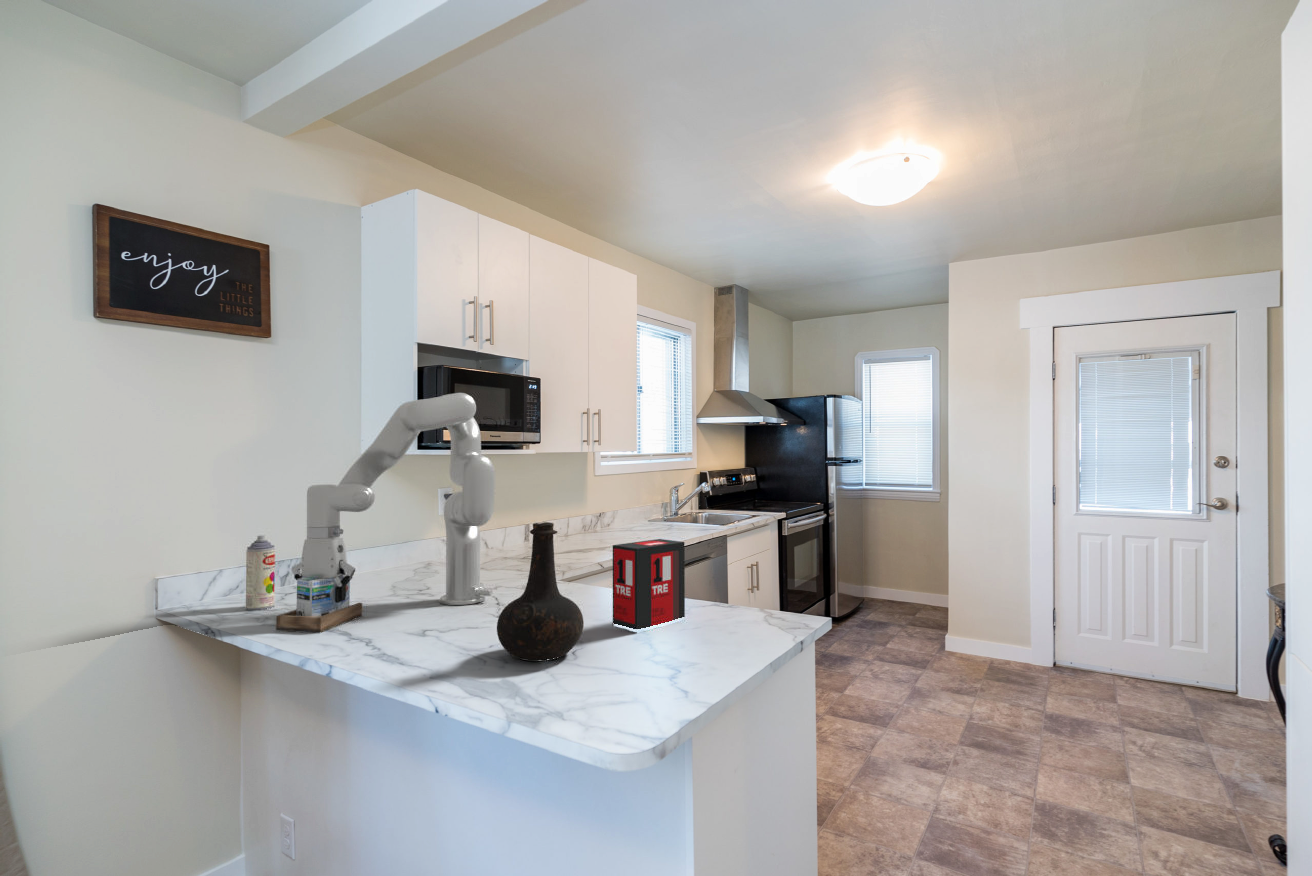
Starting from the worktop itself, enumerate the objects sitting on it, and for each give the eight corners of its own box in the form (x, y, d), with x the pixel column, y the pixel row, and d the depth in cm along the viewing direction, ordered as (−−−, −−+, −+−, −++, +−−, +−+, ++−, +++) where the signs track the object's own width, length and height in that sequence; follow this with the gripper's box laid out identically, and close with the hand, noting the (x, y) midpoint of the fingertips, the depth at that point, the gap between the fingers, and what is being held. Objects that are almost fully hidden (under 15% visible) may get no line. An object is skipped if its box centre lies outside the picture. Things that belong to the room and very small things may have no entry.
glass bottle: (479, 663, 132) (480, 525, 132) (527, 639, 148) (527, 517, 149) (556, 673, 125) (556, 528, 126) (597, 647, 142) (597, 519, 143)
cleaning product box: (637, 633, 153) (637, 548, 154) (612, 626, 160) (612, 545, 160) (684, 620, 165) (684, 542, 165) (660, 614, 171) (659, 538, 172)
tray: (362, 616, 170) (362, 602, 170) (320, 632, 155) (320, 617, 155) (321, 614, 172) (321, 601, 172) (276, 630, 157) (276, 615, 157)
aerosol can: (265, 610, 177) (266, 537, 177) (240, 610, 176) (241, 537, 177) (279, 604, 184) (280, 534, 184) (254, 604, 183) (255, 534, 184)
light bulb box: (311, 625, 158) (311, 581, 158) (294, 622, 161) (295, 578, 162) (350, 615, 167) (351, 574, 167) (334, 612, 171) (335, 571, 171)
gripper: (363, 531, 167) (363, 598, 166) (303, 530, 170) (303, 596, 169) (344, 535, 159) (344, 605, 159) (282, 534, 162) (282, 603, 162)
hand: (323, 600), depth 164 cm, fingers open, 9 cm apart
